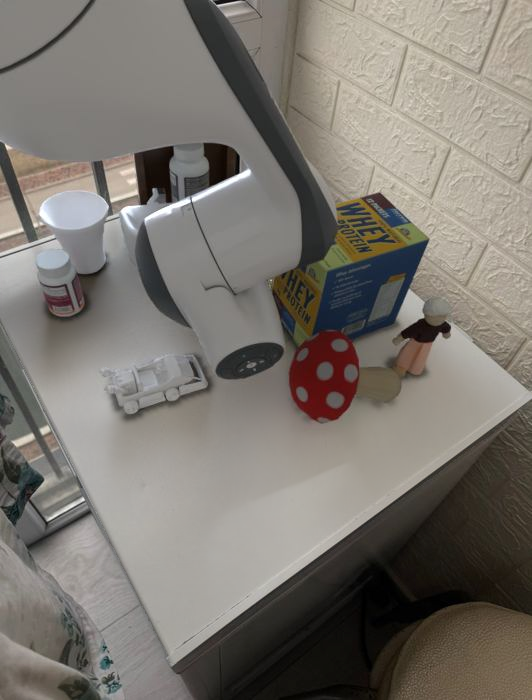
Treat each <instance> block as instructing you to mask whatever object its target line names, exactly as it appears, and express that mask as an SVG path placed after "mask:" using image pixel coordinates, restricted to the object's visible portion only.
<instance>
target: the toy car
mask: <svg viewBox="0 0 532 700" xmlns="http://www.w3.org/2000/svg"><path fill="white" fill-rule="evenodd" d="M190 362H191V363H193V365H194V368H195V370H196V372H197V375H198V377H197V376H195V373H194V370H193V368H192V366H191V363H190ZM130 368H131V369H128V370H126V369H125V368H118V369H116V370H113V369H109V368H108V367H102V368H101V369H99V371H98V373H99V374H100V375H101V376H102V377H104V378H105V377H106V378H107V377H111V384H108V385H107V386H106V387H104V388H103V390H104V391H106V393H107V394H108V395H113V394H115V396H116V400H117V403H118V406H119V407H123V410H124V412H125V413H126V414H127V415H133V414H136V413H137V412H138V411H139V410H140V409H143V408H147V407H150V406H153V405H156V404H159V403H162V402H166V400H167V401H169V402H174V401H177V400H178V399H179V398H180V396H184V395H188V394H191V393H193V392H196V391H197V392H198V391H200V390H202V389H206V388H208V384H209V383H208V380H207V379H206V378H207V377H206V376H205V374H204V371H203V369H202V367H201V365H200V362H199V361H198V359H197V357H196V356H195V355H193V354H187V355H182V354H176V353H169V354H168V353H167V354H165V355H163V356H160V357H157V358H155V359H154V360H153V362H150V363H147V364H144V365H140V366H137V365H136V364H135V363H132V364H130ZM193 380H197V382H196V381H195V382H193V383H190V382H192V381H193Z"/></svg>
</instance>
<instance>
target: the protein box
mask: <svg viewBox="0 0 532 700" xmlns="http://www.w3.org/2000/svg"><path fill="white" fill-rule="evenodd" d="M335 205H336V210H337V215H338V227H339V229H338V232H337V235H336V237H335V240H334V242H333V244H332V246H331V248H330V249H329V251H328V253H327V255H326V256H325V258H324V259H323V260H321V261H318V262H315V263H313V264H310V265H307V266H304V267H301V268H298V269H296V270H290V271H287V272H285V273H283V274H281V275H278V276H276V277H274V278H273V281H272V289H271V292H272V295H273V297H274V300H275V303H276V306H277V309H278V313H279V316H280V320H281V325H282V326H283V327H284V328H285V329H286V331H287V332H288V334H289V335H290V337H291V338H292V339H293V341H294V342H295V344H296V345H297V347H298V348H299V347H300V346H301V344H302V343H303V342H304V341H305V340H306V339H308V338H310V337H312V336H313V335H315V334H317V333H319V332H321V331H324V330H329V329H330V330H338V331H341V332H342V333H344V334H345V335H346V336H347V337H348V338H349V339H350V340H351V341H352V340H354V339H357V338H360V337H362V336H365V335H368V334H370V333H373V332H376V331H379V330H381V329H384V328H387V327H389V326H391V325H394V324H395V323H396V320H397V318H398V315H399V314H400V311H401V309H402V306H403V304H404V302H405V299H406V297H407V295H408V292H409V290H410V288H411V285H412V282H413V281H414V278H415V276H416V274H417V271H418V268H419V266H420V264H421V262H422V258H423V256H424V254H425V253H426V249H427V247H428V245H429V243H430V240H431V238H429V237H428V236H427V235H426V234H425V233H424V232H423V231H422V230H421V229H420V228H418V226H416V225H415V224H414V223H413V222H412V221H411V220H410V219H409V218H408V217H407V216H406V215H404V214H403V212H401V211H400V210H399V209H398V208H397V207H396V206H395V205H394V204H393V203H392V202H391V201H390V200H389V199H388V198H387V197H386V196H385V195H383V194H382V193H381V192H376V193H371V194H368V195H365V196H361V197H357V198H352V199H350V200H346V201H345V200H344V201H342V202H338V203H335Z"/></svg>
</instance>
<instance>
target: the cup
mask: <svg viewBox="0 0 532 700" xmlns="http://www.w3.org/2000/svg"><path fill="white" fill-rule="evenodd" d="M108 204H109V203H108V202H106V200H105V198H103V197H102V196H101V195H99V194H97V193H94V192H92V191H88V190H74V189H73V190H66V191H62V192H59V193H55V194H53V195H51V196H50V197H48V198H47V199H46V200H44V201H43V202H42V203H41V205H40V206H39V210H38V214H37V215H36V216H35V217H36V220H37V221H38V222H40V223H42V224H43V225H44V226H45V227H46V228H47V229H48V230H49V231H50V232H51V233H52V234H53V236H54V237H55V239H56V240H57V242H58V243H59V245H60V246H61V249H62V250H64V251H66V252H67V253H68V255H69V258H70V261H71V263H72V264H73V265H74V267H75V269H76V272H77V274H80V275H89V274H94V273H96V272H98V271H99V270H101V269H102V268H103V267H104V265H105V264H106V261H107V256H106V252H105V246H104V233H105V224H106V221H107V219H108V216H109V209H110V205H108Z"/></svg>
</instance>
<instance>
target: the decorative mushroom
mask: <svg viewBox="0 0 532 700" xmlns="http://www.w3.org/2000/svg"><path fill="white" fill-rule="evenodd" d="M402 384H403V383H402V379H401V377H400V376H399V375H398V374H397V373H396V372H395V371H394V370H393V369H391V367H384V366H360V360H359V356H358V353H357V351H356V348H355V345H354V342H353V341H352V340H350V339H349V338H348V337H347V336H346V335H345V334H344V333H342V332H341V331H338V330H330V329H329V330H324V331H321V332H319V333H317V334H315V335H313V336H312V337H310V338H308V339H306V340H305V341H304V342H303V343H302V344H301V346H300V347H299V346H298V348H297V349H296V351H295V352H294V354H293V356H292V359H291V362H290V365H289V370H288V387H289V392H290V395H291V398H292V399H293V402H294V403H295V405H296V406H297V407H298V409H299V410H300V412H302V413H303V415H305V417H307V418H308V419H310V420H312V421H315V422H316V423H319V424H322V425H323V424H326V423H330V422H334V421H338V420H339V419H340V418H341V417H342V416H343V415H344V414H345V413H346V412H347V411H348V410H349V409H350V407H351V405H352V403H353V401H354V398H355V396H359V397H363V398H366V399H369V400H371V401H374V402H378V403H389V402H391V401H393V400H395V399H396V398H398V397H399V395H400V394H401V391H402V387H403V385H402Z"/></svg>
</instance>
